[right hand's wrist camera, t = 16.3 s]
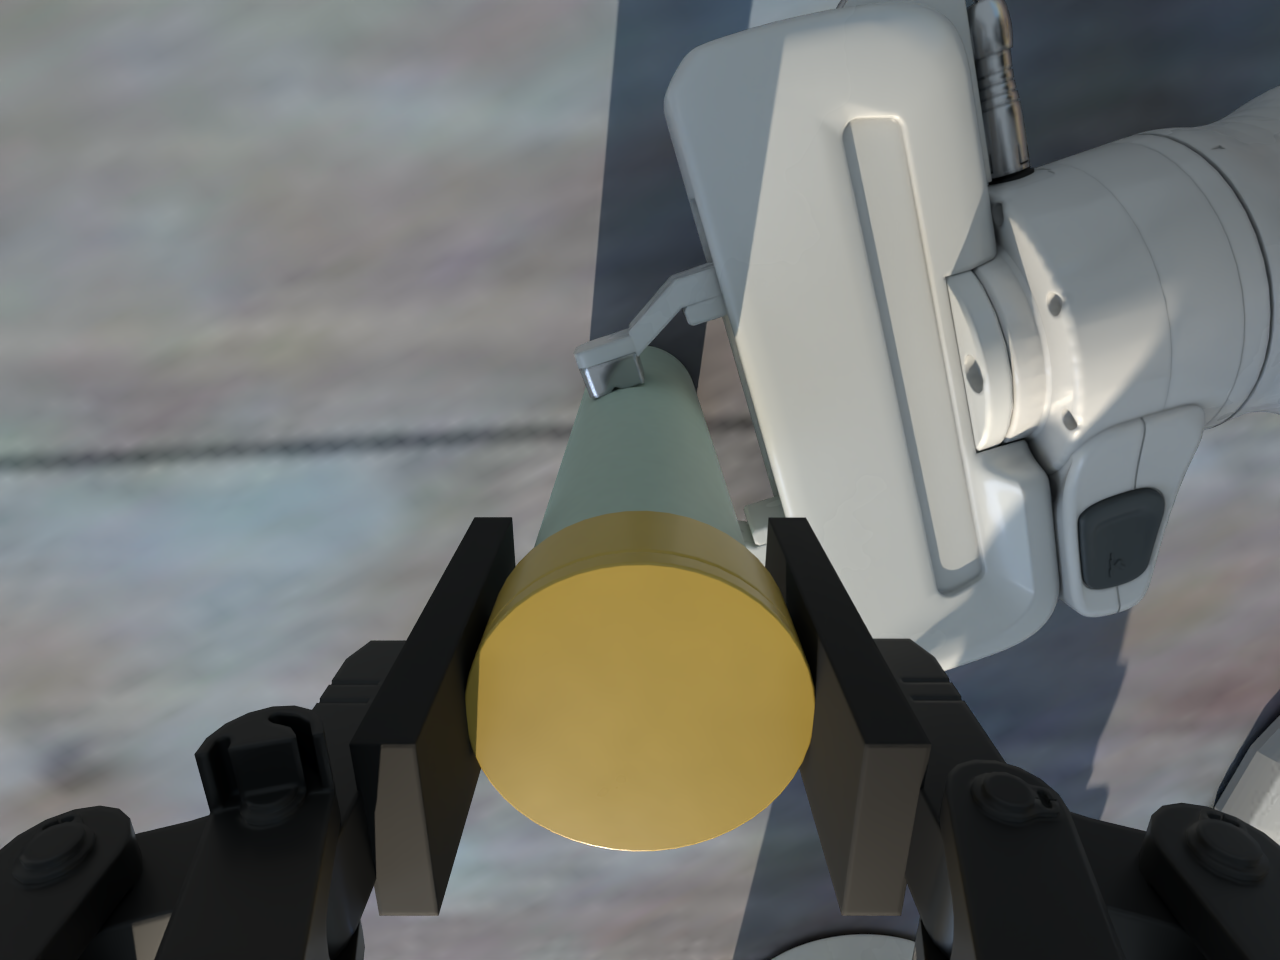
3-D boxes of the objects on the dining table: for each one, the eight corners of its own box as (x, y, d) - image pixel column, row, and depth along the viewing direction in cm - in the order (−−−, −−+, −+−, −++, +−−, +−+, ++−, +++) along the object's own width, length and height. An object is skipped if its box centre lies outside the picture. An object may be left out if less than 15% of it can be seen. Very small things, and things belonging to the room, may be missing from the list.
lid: (620, 445, 11) (616, 489, 9) (854, 631, 12) (890, 702, 10) (430, 662, 12) (394, 737, 11) (656, 811, 13) (659, 900, 12)
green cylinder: (716, 378, 29) (840, 640, 11) (661, 471, 30) (693, 839, 12) (616, 324, 28) (574, 511, 10) (565, 422, 29) (449, 738, 11)
